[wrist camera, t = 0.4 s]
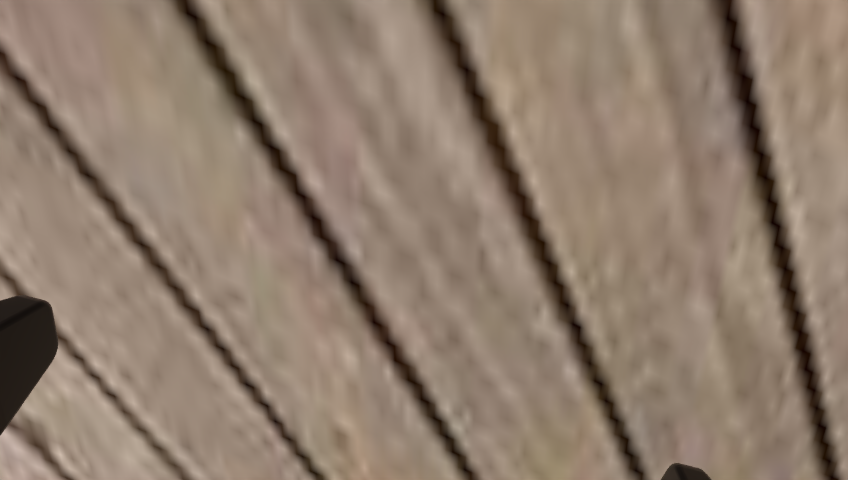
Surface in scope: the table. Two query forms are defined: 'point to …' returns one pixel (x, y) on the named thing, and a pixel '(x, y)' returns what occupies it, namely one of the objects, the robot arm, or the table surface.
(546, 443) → the table surface
